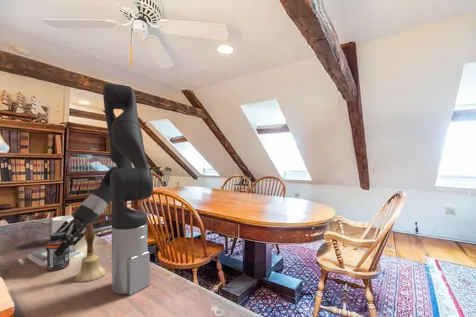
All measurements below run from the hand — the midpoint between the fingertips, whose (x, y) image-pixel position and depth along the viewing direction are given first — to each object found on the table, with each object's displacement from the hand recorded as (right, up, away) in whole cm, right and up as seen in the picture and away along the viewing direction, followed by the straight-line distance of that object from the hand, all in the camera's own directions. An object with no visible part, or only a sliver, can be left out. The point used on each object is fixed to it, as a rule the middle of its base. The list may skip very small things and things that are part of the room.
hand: (52, 252), depth 78 cm
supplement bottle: (+1, -5, +2) cm, 6 cm away
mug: (-17, -6, +27) cm, 33 cm away
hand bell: (+15, -5, -4) cm, 17 cm away
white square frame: (-7, -5, +11) cm, 14 cm away
